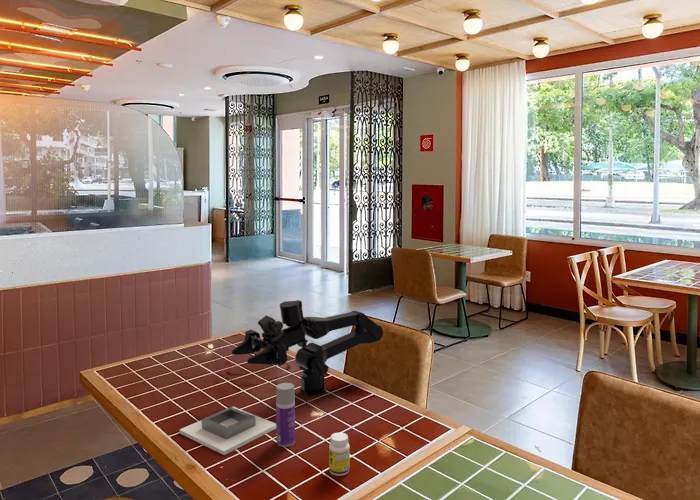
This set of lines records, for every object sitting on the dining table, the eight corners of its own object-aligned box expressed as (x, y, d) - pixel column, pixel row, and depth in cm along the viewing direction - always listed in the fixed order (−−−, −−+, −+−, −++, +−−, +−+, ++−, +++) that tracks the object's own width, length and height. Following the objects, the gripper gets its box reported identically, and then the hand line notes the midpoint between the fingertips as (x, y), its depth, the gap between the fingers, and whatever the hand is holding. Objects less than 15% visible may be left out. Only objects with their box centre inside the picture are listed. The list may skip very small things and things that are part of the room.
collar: (231, 415, 149) (231, 406, 149) (255, 425, 143) (255, 416, 143) (201, 428, 141) (201, 419, 141) (226, 439, 135) (226, 430, 135)
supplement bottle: (328, 465, 126) (328, 431, 125) (348, 464, 126) (348, 430, 125) (329, 476, 121) (329, 441, 120) (350, 476, 121) (350, 441, 120)
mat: (233, 409, 155) (233, 406, 155) (277, 427, 144) (277, 424, 144) (179, 433, 141) (179, 429, 141) (224, 455, 130) (224, 451, 130)
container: (291, 447, 134) (291, 390, 132) (274, 445, 135) (273, 388, 132) (297, 438, 138) (296, 383, 136) (280, 437, 139) (279, 381, 137)
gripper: (265, 307, 166) (219, 323, 156) (299, 319, 151) (251, 338, 142) (271, 340, 168) (226, 358, 159) (305, 356, 154) (258, 376, 145)
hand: (239, 357), depth 151 cm, fingers open, 9 cm apart
